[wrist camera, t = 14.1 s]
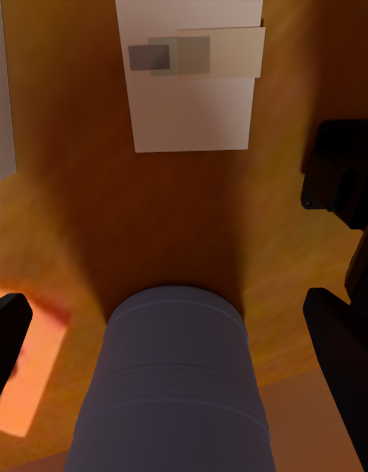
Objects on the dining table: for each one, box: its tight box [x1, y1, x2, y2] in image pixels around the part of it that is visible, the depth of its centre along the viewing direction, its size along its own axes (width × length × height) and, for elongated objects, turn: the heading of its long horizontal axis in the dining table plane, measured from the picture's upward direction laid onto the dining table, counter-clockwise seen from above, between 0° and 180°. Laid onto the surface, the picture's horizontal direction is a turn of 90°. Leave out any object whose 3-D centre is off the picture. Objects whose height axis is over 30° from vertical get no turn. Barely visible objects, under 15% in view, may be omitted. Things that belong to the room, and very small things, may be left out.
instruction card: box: [115, 0, 266, 153], centre depth 15 cm, size 8×11×1 cm
